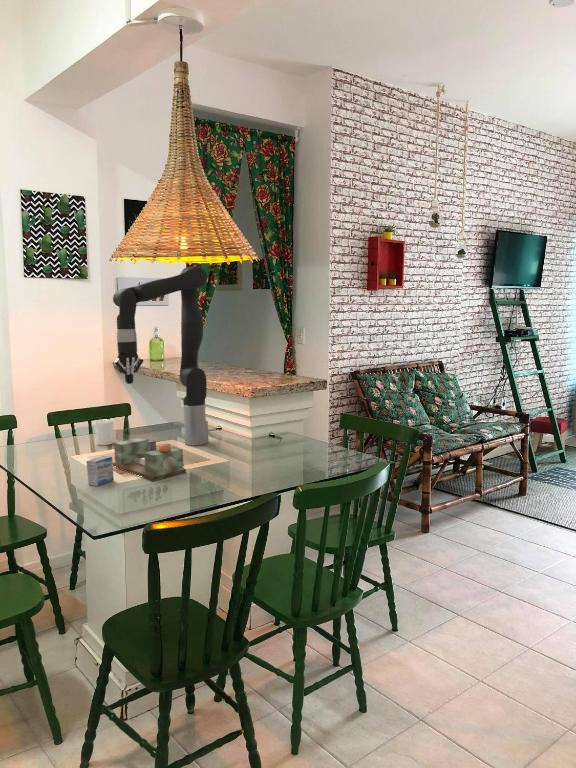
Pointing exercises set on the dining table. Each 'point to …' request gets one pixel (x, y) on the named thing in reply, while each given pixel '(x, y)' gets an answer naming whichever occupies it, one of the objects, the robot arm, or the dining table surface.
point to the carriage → (149, 449)
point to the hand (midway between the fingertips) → (129, 383)
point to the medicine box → (100, 470)
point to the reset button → (164, 447)
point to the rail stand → (148, 460)
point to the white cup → (104, 431)
